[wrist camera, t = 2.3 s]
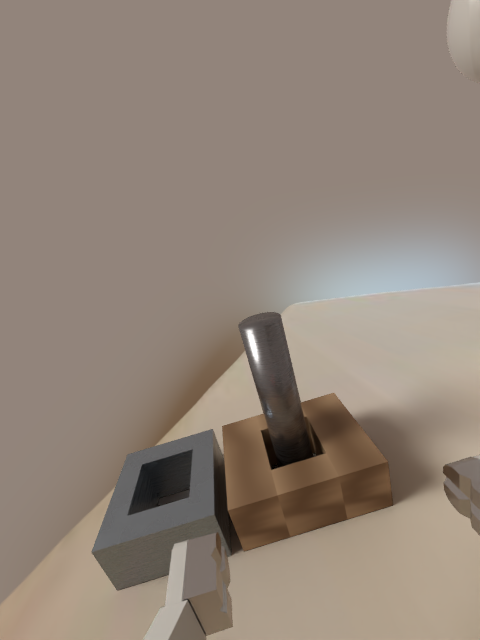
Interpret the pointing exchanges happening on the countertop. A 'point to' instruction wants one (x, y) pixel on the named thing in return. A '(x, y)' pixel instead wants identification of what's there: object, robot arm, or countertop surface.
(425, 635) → the countertop surface
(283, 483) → the wooden square hole block
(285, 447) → the steel axle
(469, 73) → the robot arm
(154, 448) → the socket block
